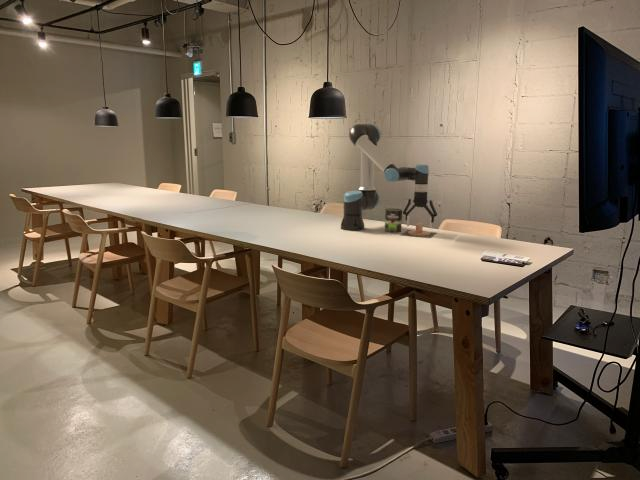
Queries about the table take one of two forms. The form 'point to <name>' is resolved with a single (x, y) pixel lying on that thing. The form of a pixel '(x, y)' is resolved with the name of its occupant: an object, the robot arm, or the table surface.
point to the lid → (419, 231)
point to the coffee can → (393, 220)
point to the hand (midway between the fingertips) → (419, 227)
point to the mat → (418, 236)
